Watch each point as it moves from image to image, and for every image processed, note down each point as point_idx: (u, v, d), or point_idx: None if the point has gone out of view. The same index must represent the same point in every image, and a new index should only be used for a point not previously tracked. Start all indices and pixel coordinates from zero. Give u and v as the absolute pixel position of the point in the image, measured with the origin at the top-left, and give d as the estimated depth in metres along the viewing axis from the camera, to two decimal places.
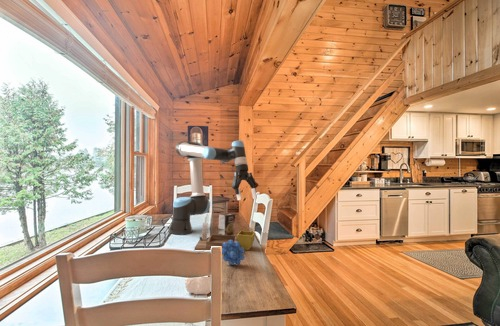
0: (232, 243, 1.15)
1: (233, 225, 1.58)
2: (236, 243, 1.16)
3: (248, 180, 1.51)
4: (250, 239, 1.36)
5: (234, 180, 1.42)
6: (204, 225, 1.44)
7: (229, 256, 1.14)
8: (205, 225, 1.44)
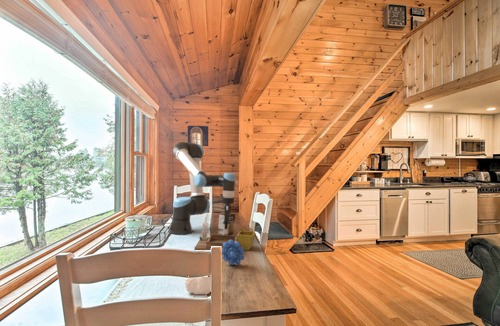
0: (232, 243, 1.15)
1: (234, 225, 1.58)
2: (236, 243, 1.16)
3: (228, 212, 1.60)
4: (250, 239, 1.36)
5: (226, 215, 1.50)
6: (204, 225, 1.44)
7: (229, 256, 1.14)
8: (205, 225, 1.44)
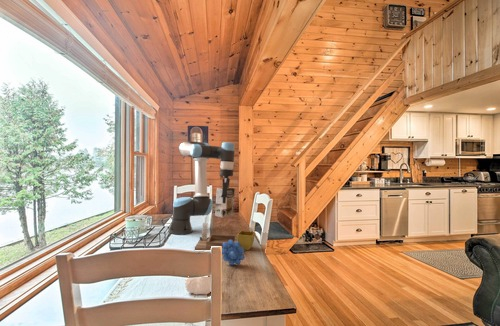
0: (232, 243, 1.15)
1: (233, 200, 1.42)
2: (236, 243, 1.16)
3: None
4: (250, 239, 1.36)
5: (225, 188, 1.34)
6: (204, 225, 1.44)
7: (229, 256, 1.14)
8: (205, 225, 1.44)
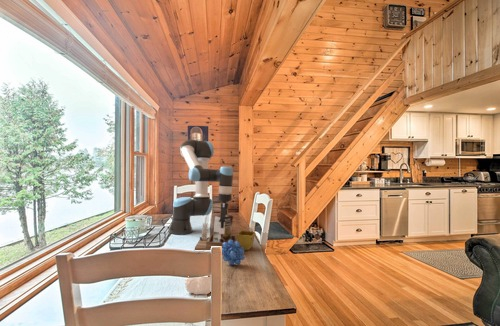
0: (232, 243, 1.15)
1: (231, 228, 1.42)
2: (236, 243, 1.16)
3: None
4: (250, 239, 1.36)
5: (223, 213, 1.33)
6: (204, 225, 1.44)
7: (229, 256, 1.14)
8: (205, 225, 1.44)
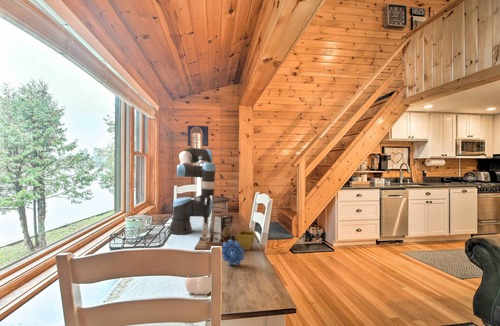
0: (232, 243, 1.15)
1: (231, 228, 1.42)
2: (236, 243, 1.16)
3: None
4: (250, 239, 1.36)
5: (205, 210, 1.42)
6: (204, 225, 1.44)
7: (229, 256, 1.14)
8: (205, 225, 1.44)
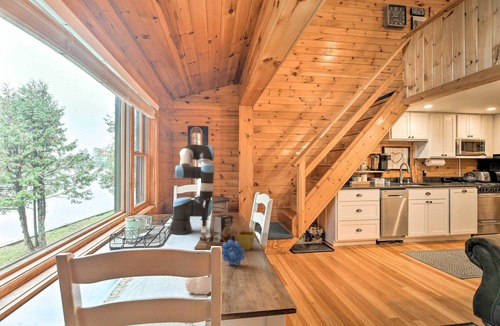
0: (232, 243, 1.15)
1: (231, 228, 1.42)
2: (236, 243, 1.16)
3: None
4: (250, 239, 1.36)
5: (204, 213, 1.37)
6: (202, 233, 1.39)
7: (229, 256, 1.14)
8: (203, 233, 1.39)
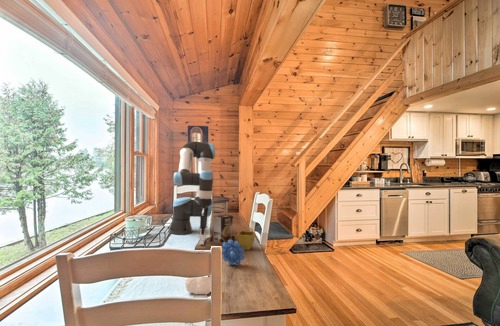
0: (232, 243, 1.15)
1: (231, 228, 1.42)
2: (236, 243, 1.16)
3: (205, 215, 1.39)
4: (250, 239, 1.36)
5: (202, 221, 1.34)
6: None
7: (229, 256, 1.14)
8: None
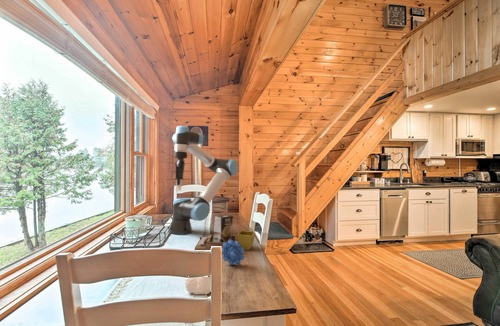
0: (232, 243, 1.15)
1: (231, 228, 1.42)
2: (236, 243, 1.16)
3: None
4: (250, 239, 1.36)
5: (177, 171, 1.45)
6: None
7: (229, 256, 1.14)
8: None
